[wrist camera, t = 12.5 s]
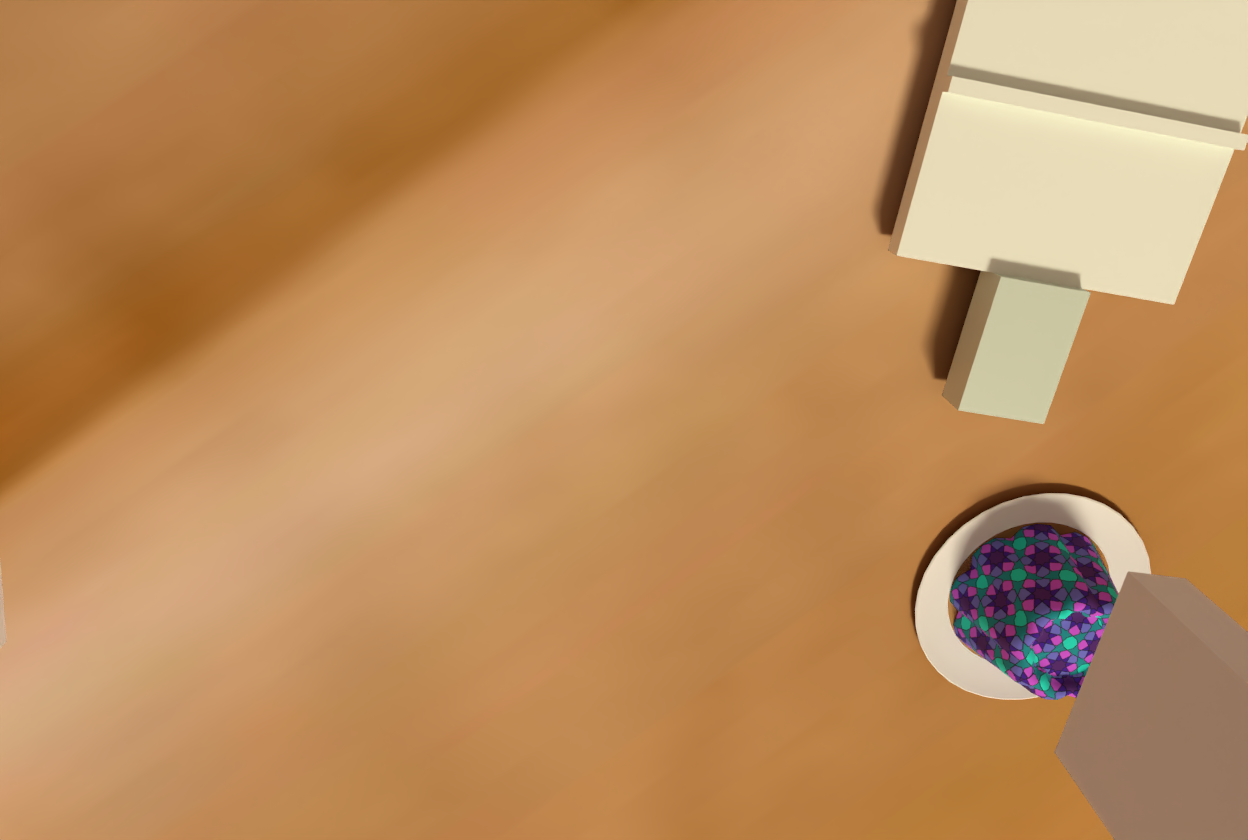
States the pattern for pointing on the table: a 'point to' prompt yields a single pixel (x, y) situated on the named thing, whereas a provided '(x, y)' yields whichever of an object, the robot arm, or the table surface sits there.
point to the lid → (1068, 171)
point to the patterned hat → (1026, 596)
